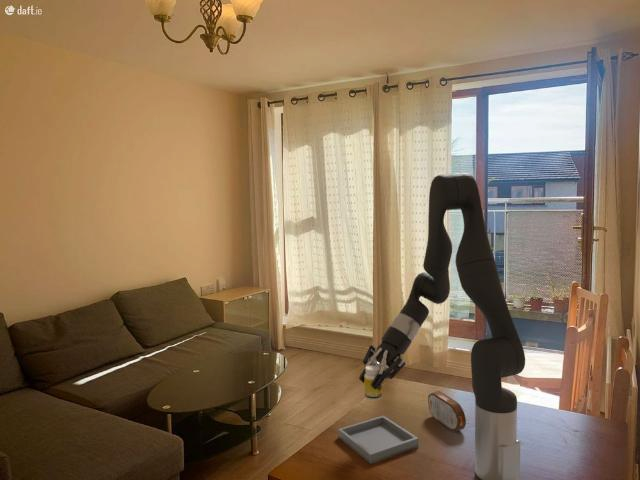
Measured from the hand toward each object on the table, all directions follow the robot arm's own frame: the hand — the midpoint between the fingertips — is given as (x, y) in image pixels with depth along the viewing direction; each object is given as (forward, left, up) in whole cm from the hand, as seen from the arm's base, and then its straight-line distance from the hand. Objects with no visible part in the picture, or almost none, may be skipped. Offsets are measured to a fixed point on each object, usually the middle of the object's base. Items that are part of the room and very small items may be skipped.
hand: (367, 384), depth 129 cm
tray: (-2, -2, -16) cm, 16 cm away
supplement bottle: (0, -2, -4) cm, 5 cm away
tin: (-4, -25, -16) cm, 30 cm away
